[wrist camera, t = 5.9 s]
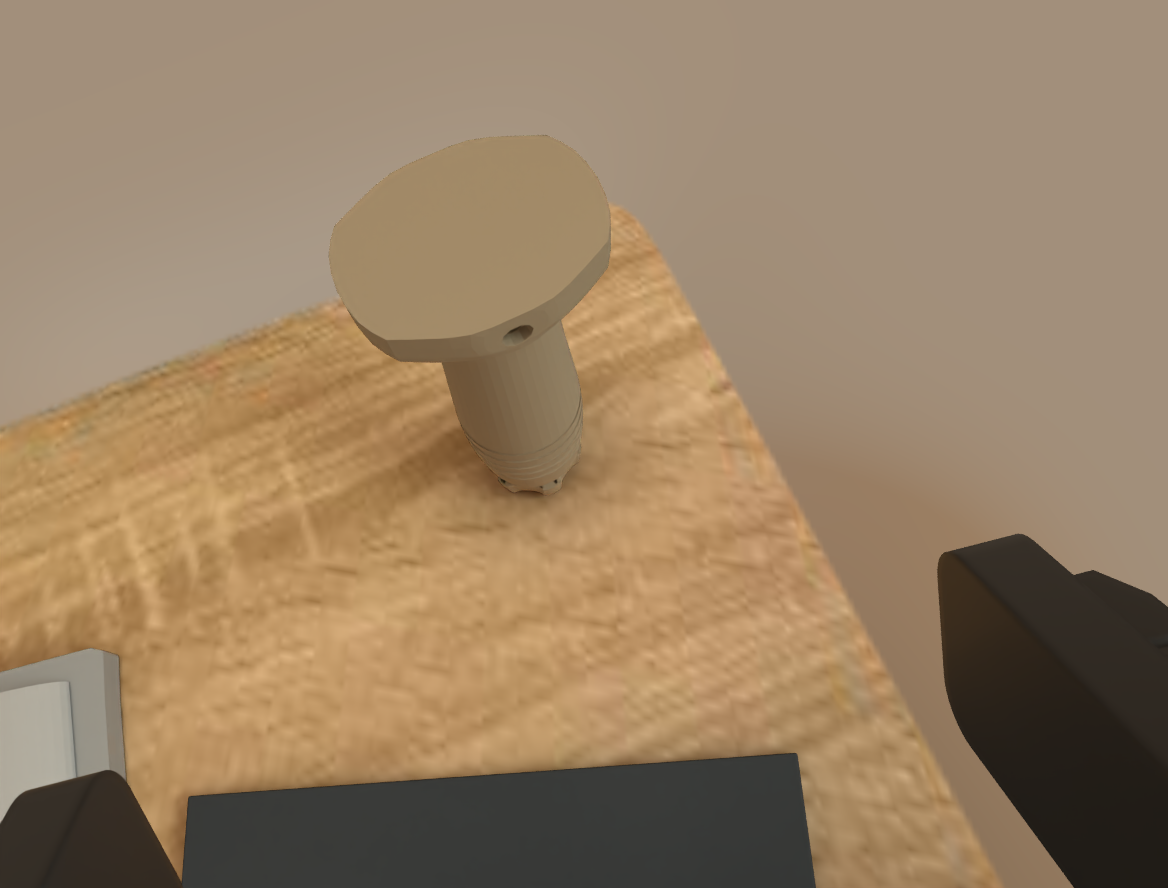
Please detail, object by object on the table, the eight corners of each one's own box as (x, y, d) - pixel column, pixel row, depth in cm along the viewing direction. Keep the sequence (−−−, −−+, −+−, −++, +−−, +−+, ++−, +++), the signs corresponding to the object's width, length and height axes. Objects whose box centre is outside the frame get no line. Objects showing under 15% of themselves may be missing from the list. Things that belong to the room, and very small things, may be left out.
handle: (432, 441, 36) (301, 209, 22) (586, 371, 37) (552, 102, 23) (483, 553, 34) (376, 380, 20) (643, 477, 35) (645, 258, 21)
